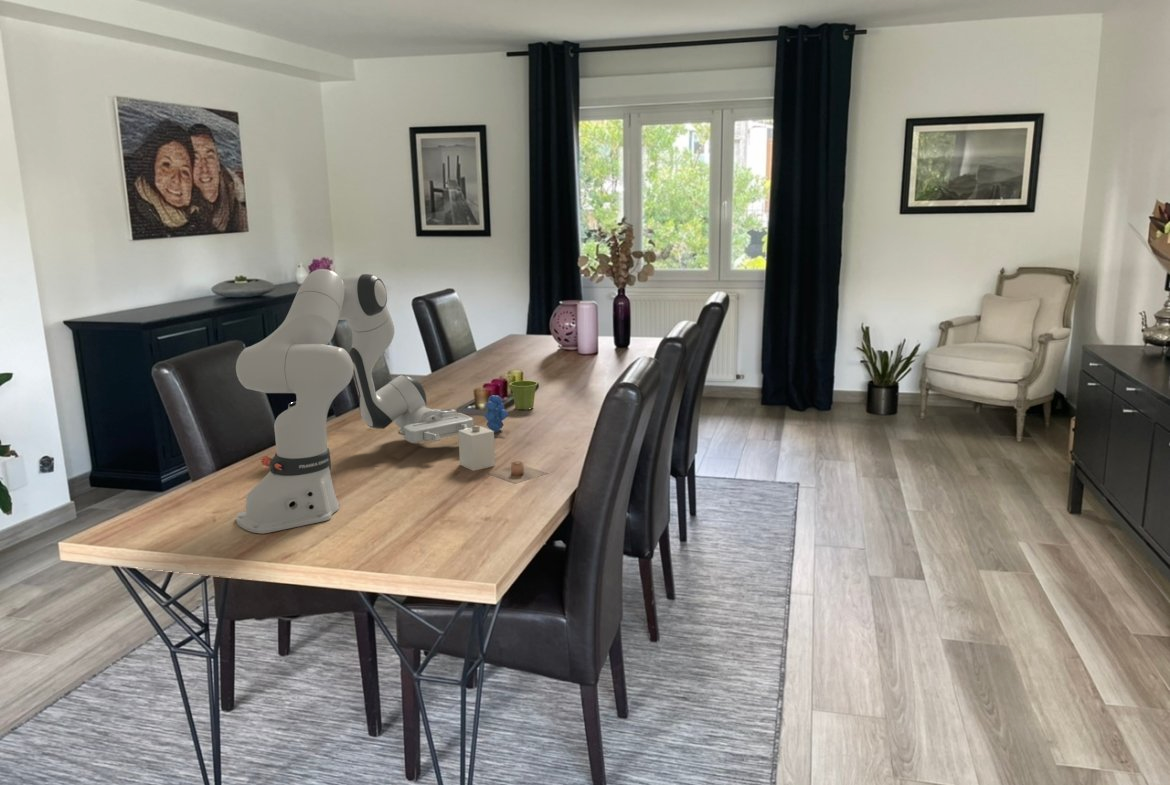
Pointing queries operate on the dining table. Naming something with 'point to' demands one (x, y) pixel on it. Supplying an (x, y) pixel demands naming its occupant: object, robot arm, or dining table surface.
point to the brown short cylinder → (517, 468)
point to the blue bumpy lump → (495, 413)
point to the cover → (476, 448)
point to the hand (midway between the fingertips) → (452, 434)
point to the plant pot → (523, 393)
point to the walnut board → (527, 475)
